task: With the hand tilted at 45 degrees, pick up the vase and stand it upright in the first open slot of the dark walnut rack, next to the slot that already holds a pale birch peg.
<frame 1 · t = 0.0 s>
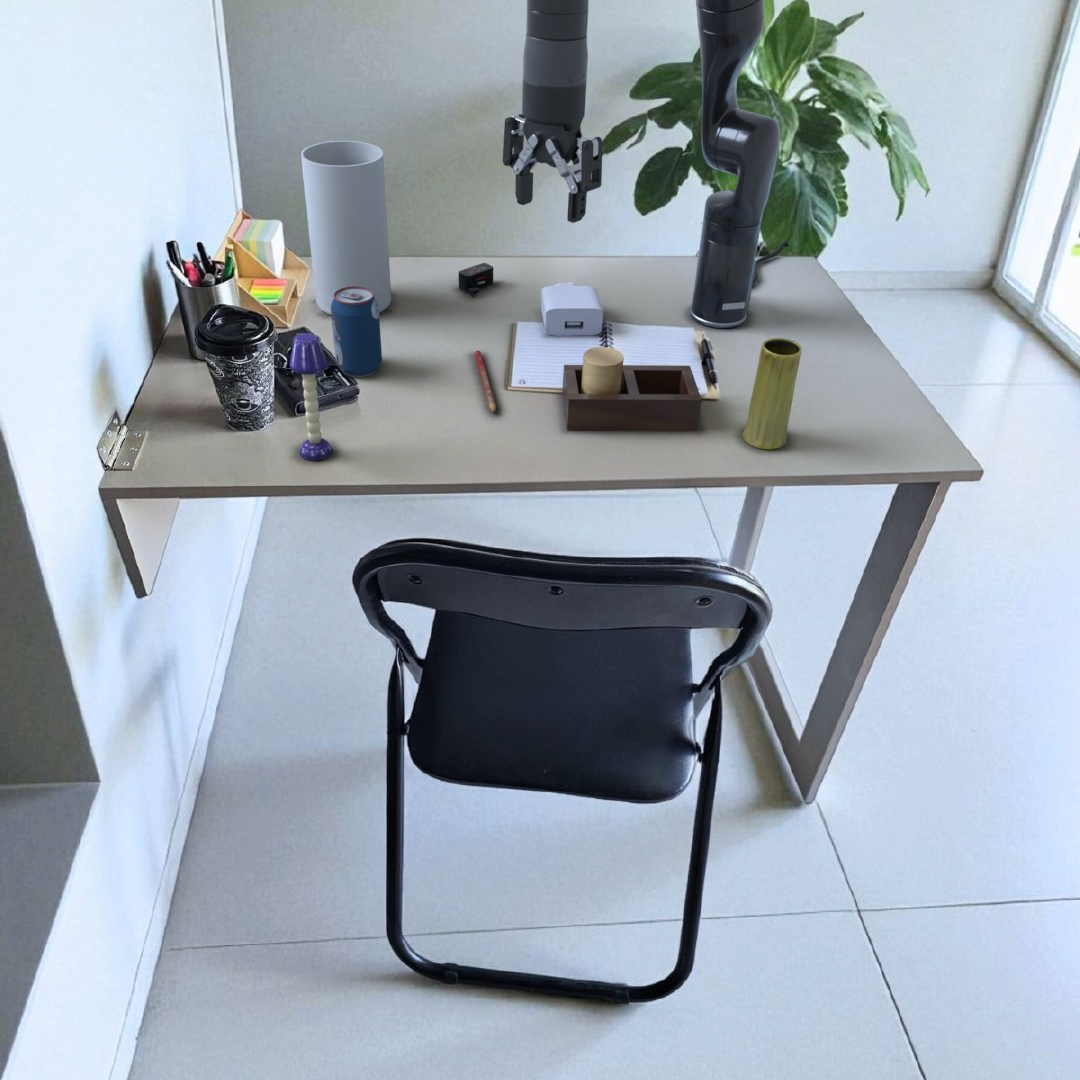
hand: (549, 211, 132), 29 cm above the table, tool pointing down, fingers open, 8 cm apart
soda can: (359, 369, 158), on the table
pencil: (485, 386, 156), on the table
peg: (599, 412, 150), resting in rack
rack: (628, 412, 151), on the table
charger: (568, 316, 176), on the table
cylinder vase: (354, 305, 176), on the table
toy lamp: (318, 452, 140), on the table
vase: (764, 439, 146), on the table
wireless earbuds: (475, 290, 182), on the table
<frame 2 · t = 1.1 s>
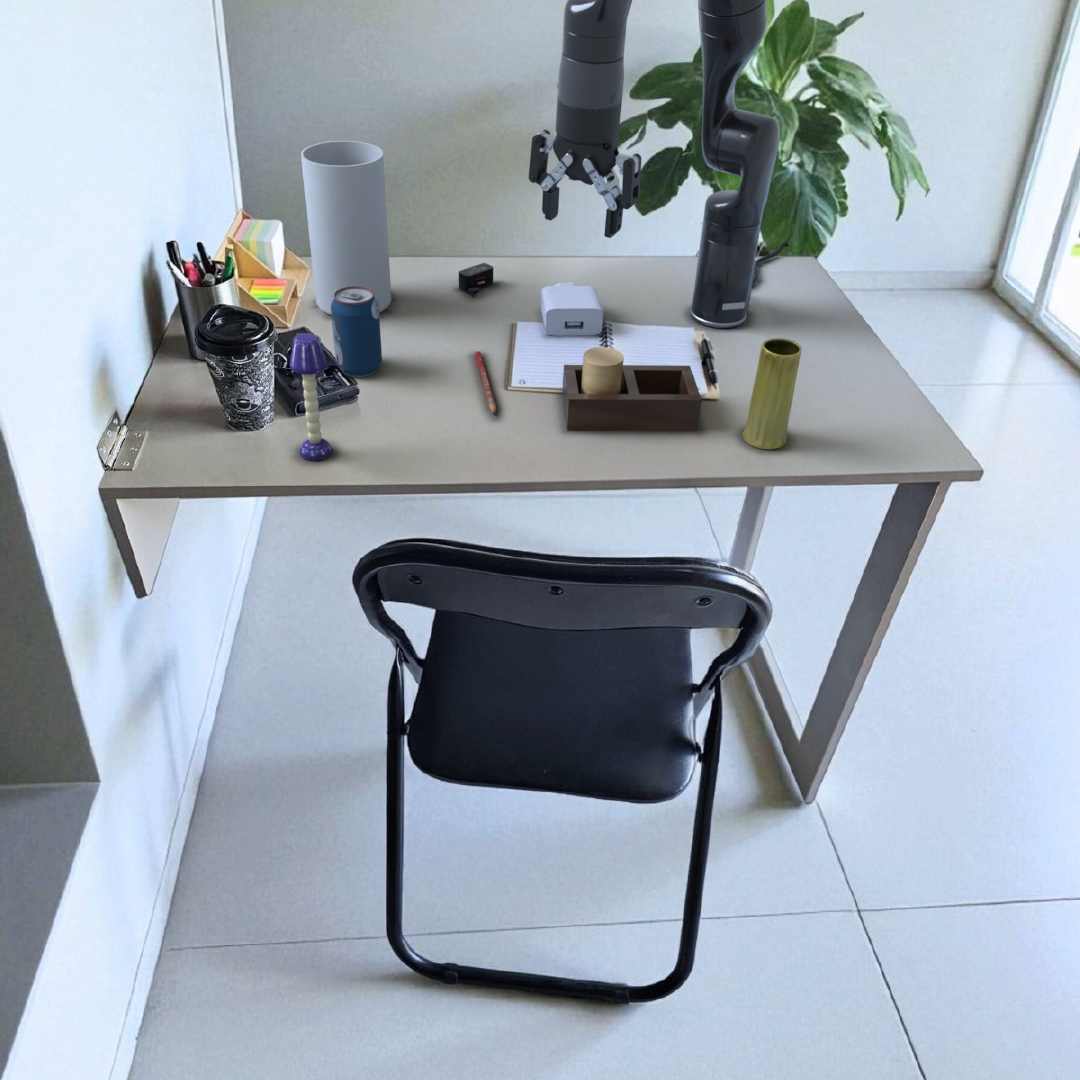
hand: (580, 226, 132), 28 cm above the table, tool pointing down, fingers open, 8 cm apart
nothing on the table moved.
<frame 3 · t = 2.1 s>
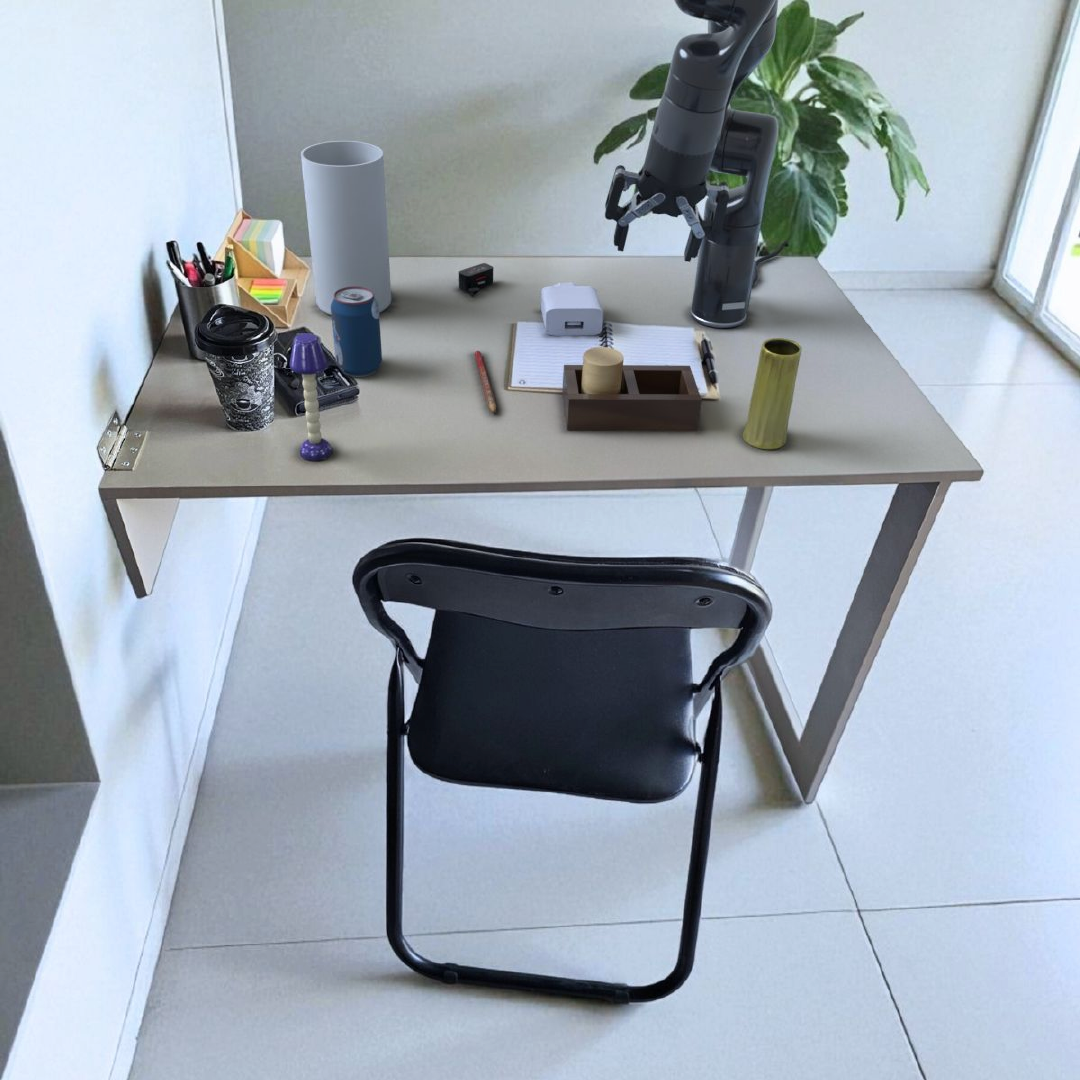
hand: (653, 252, 131), 26 cm above the table, tool tilted 15°, fingers open, 8 cm apart
nothing on the table moved.
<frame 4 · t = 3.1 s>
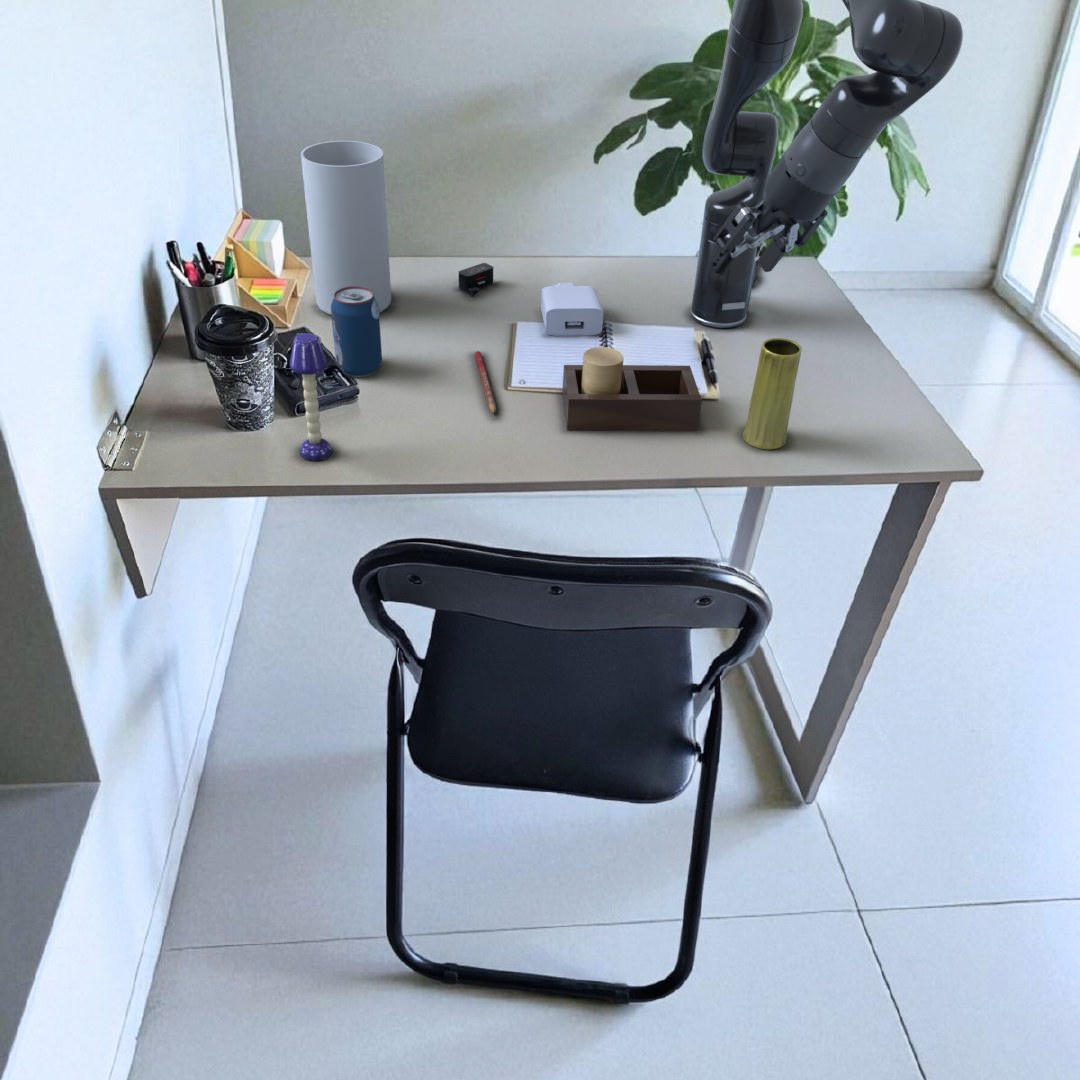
hand: (739, 269, 131), 25 cm above the table, tool tilted 25°, fingers open, 8 cm apart
nothing on the table moved.
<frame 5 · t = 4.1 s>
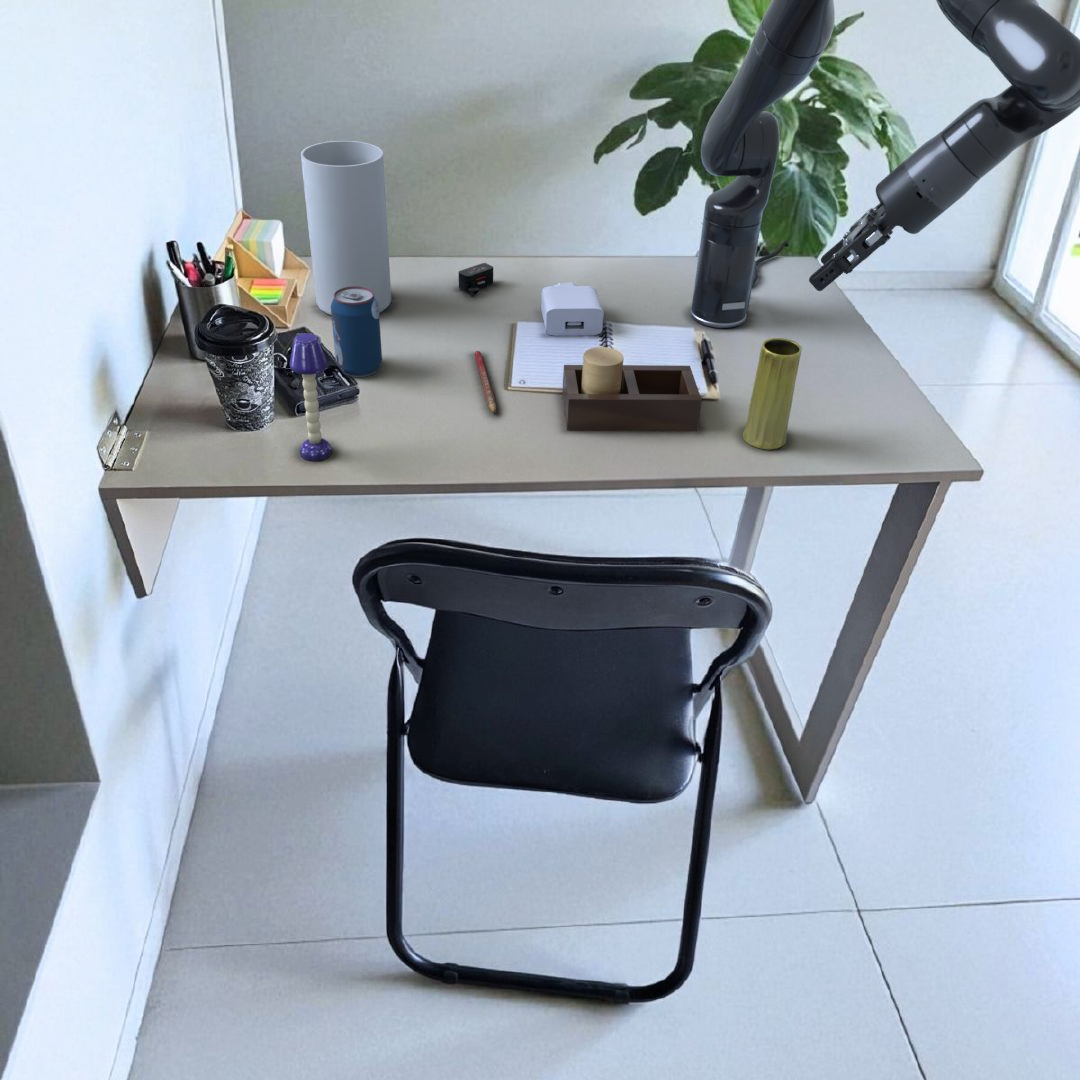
hand: (819, 275, 131), 25 cm above the table, tool tilted 40°, fingers open, 8 cm apart
nothing on the table moved.
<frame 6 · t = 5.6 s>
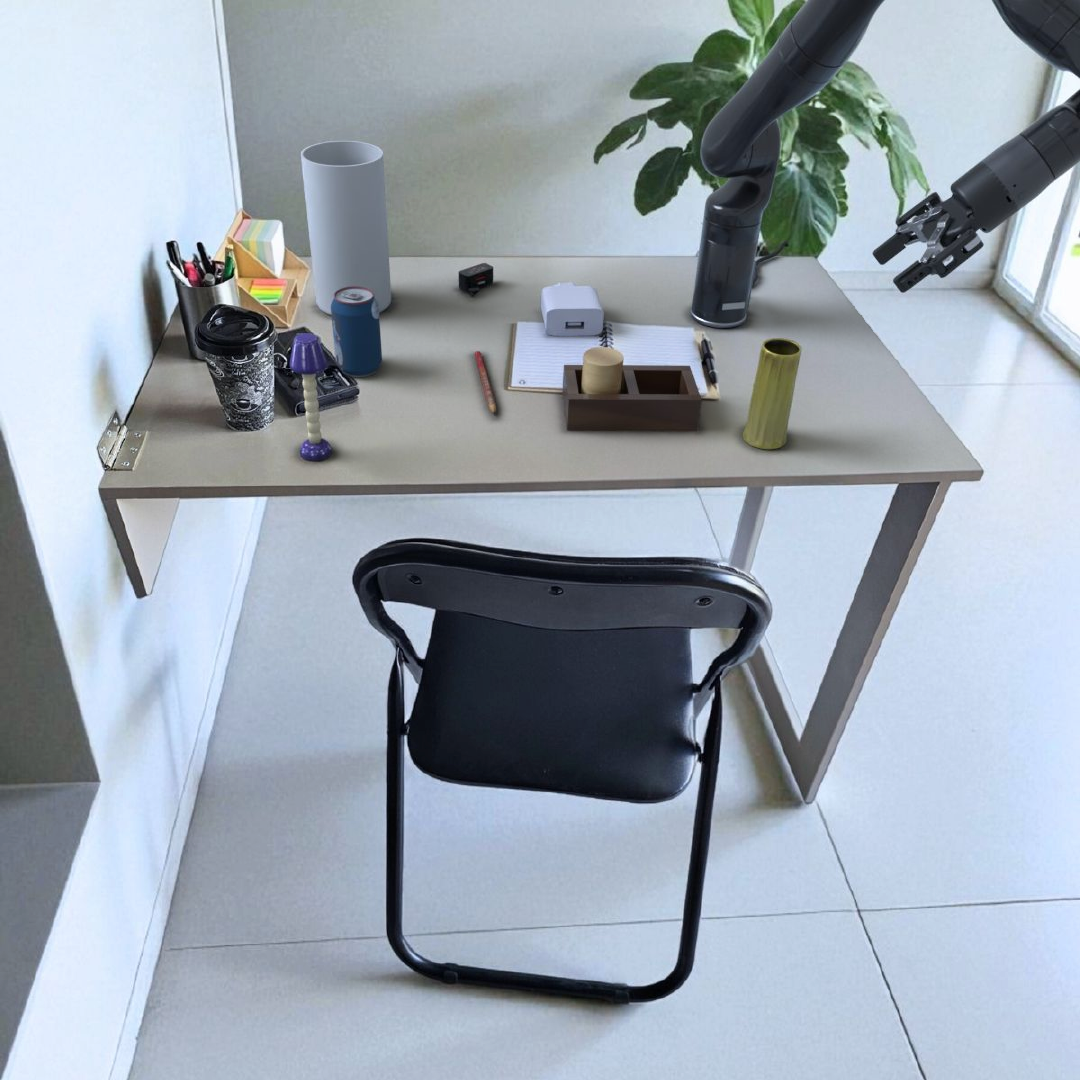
hand: (886, 273, 132), 25 cm above the table, tool tilted 45°, fingers open, 8 cm apart
nothing on the table moved.
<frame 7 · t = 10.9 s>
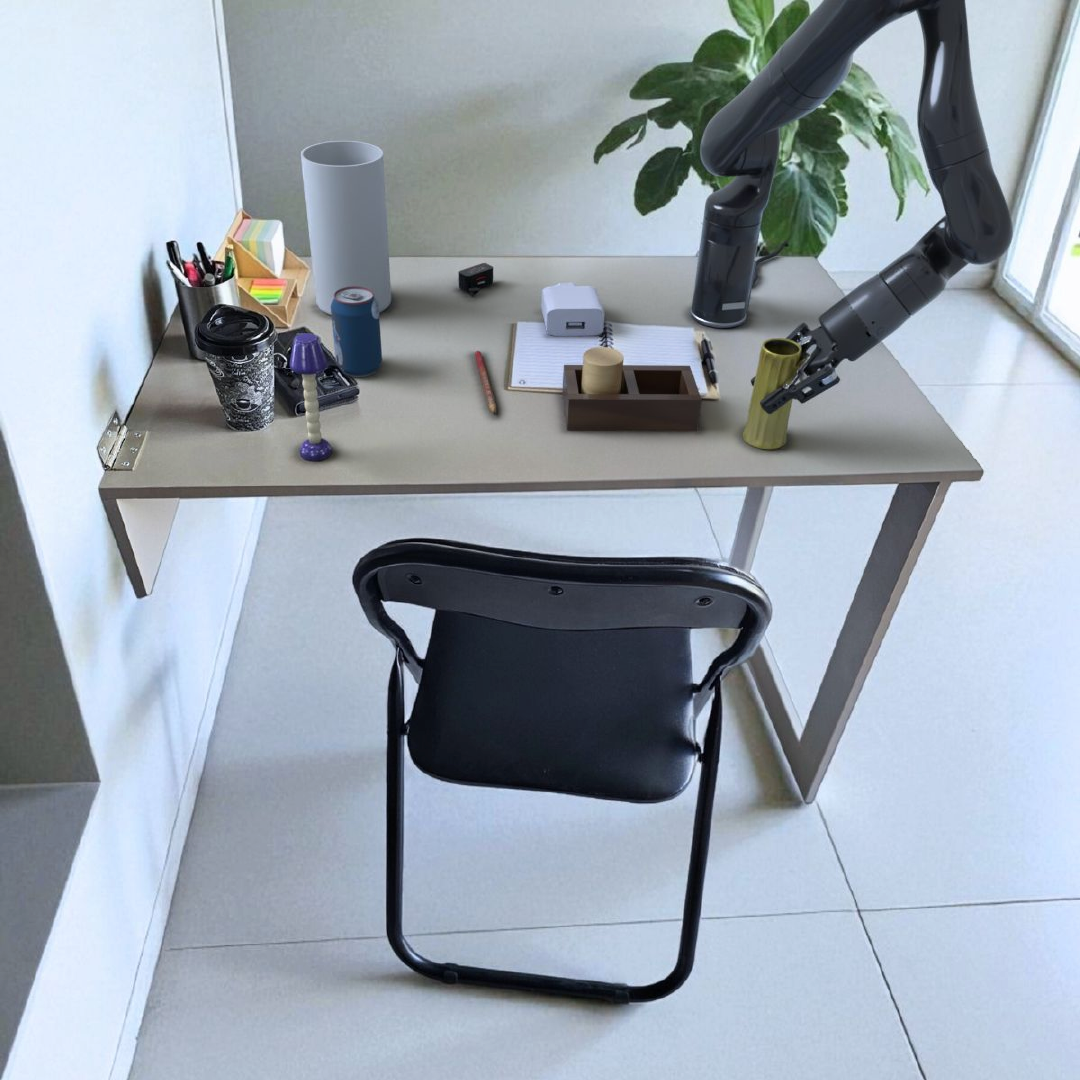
hand: (759, 397, 142), 7 cm above the table, tool tilted 45°, fingers closed on vase, 5 cm apart
vase: (763, 439, 146), on the table, touching gripper
everything else where it was.
when the fingers open (7 cm above the table, at t = 21.1 s): vase stays where it is, resting in rack.
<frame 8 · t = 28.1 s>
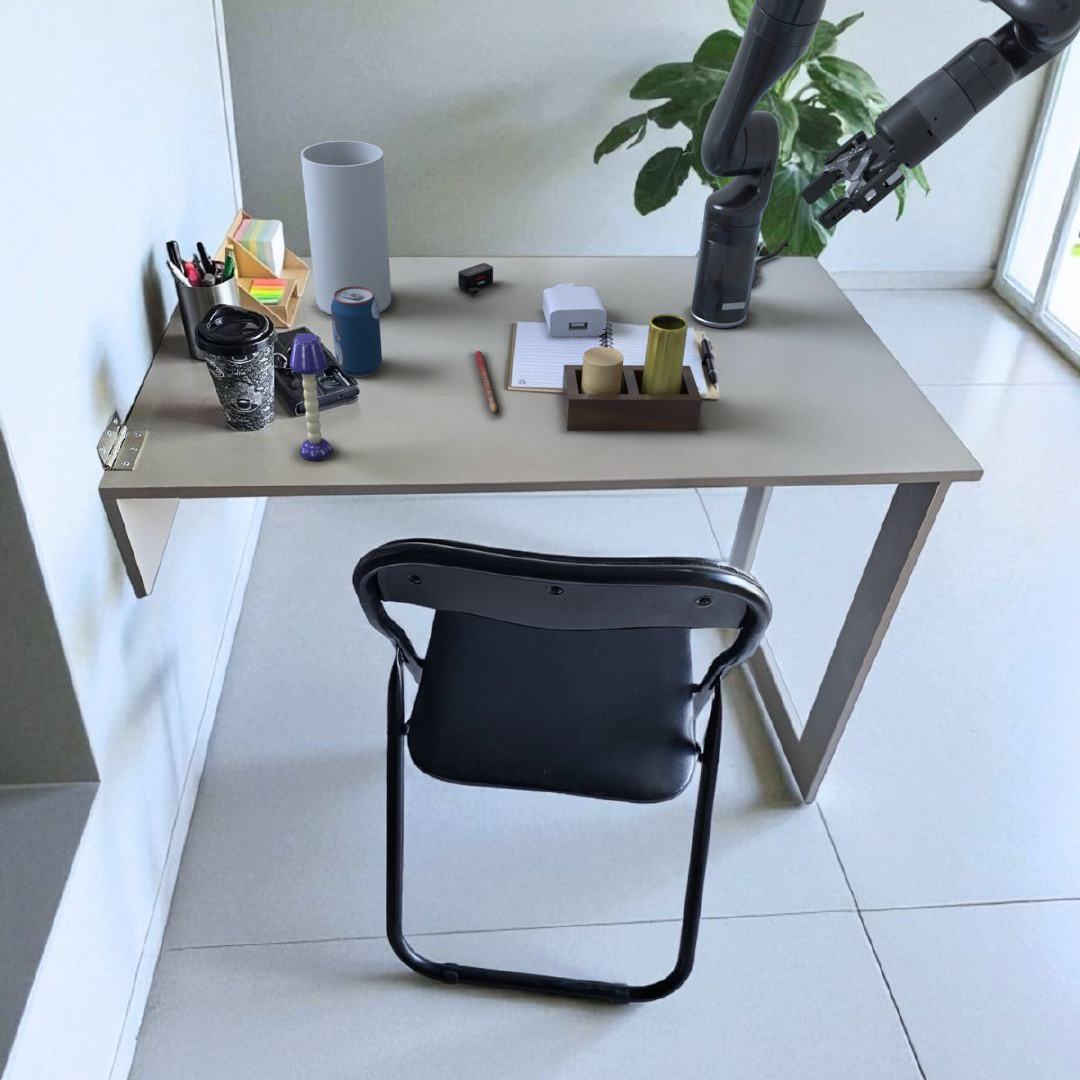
hand: (812, 211, 132), 31 cm above the table, tool tilted 45°, fingers open, 8 cm apart
vase: (657, 413, 151), resting in rack
everything else where it was.
at the end: vase 0.1 cm from the target spot in the rack, point 0.0 cm above the rack's base; vase tilted 0°; the gripper is holding nothing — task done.
